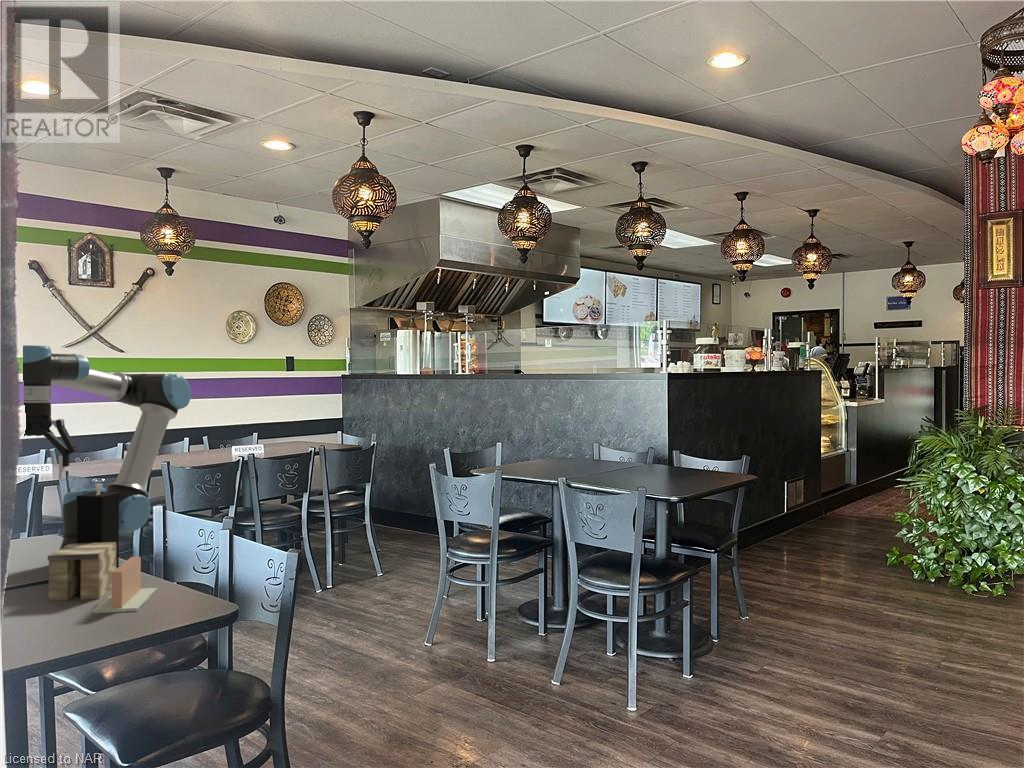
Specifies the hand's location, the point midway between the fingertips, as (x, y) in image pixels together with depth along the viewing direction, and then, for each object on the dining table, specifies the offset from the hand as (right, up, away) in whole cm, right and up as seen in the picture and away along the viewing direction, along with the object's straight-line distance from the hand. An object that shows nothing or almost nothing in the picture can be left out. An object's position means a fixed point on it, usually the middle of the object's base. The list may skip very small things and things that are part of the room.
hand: (34, 479), depth 200 cm
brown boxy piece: (+14, -31, -1) cm, 34 cm away
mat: (+30, -31, -9) cm, 44 cm away
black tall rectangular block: (+10, -31, +13) cm, 35 cm away
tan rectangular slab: (+30, -30, -9) cm, 43 cm away
